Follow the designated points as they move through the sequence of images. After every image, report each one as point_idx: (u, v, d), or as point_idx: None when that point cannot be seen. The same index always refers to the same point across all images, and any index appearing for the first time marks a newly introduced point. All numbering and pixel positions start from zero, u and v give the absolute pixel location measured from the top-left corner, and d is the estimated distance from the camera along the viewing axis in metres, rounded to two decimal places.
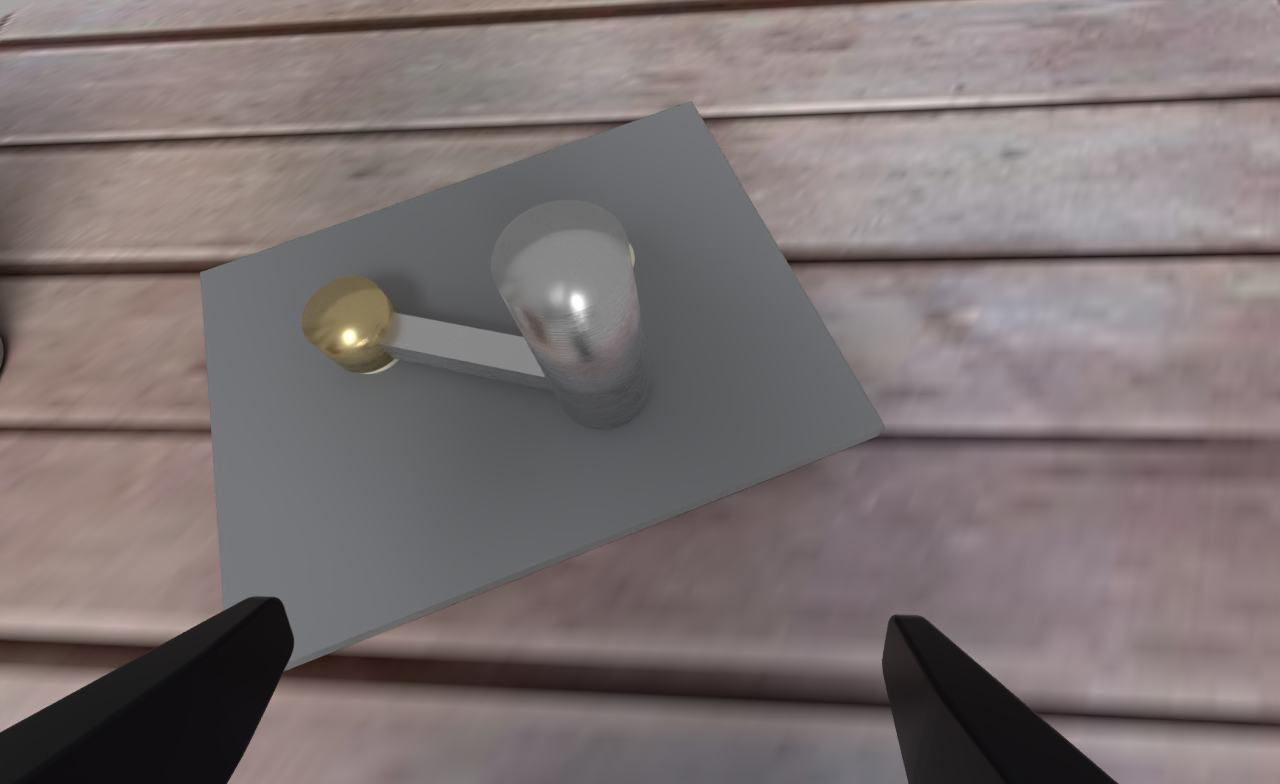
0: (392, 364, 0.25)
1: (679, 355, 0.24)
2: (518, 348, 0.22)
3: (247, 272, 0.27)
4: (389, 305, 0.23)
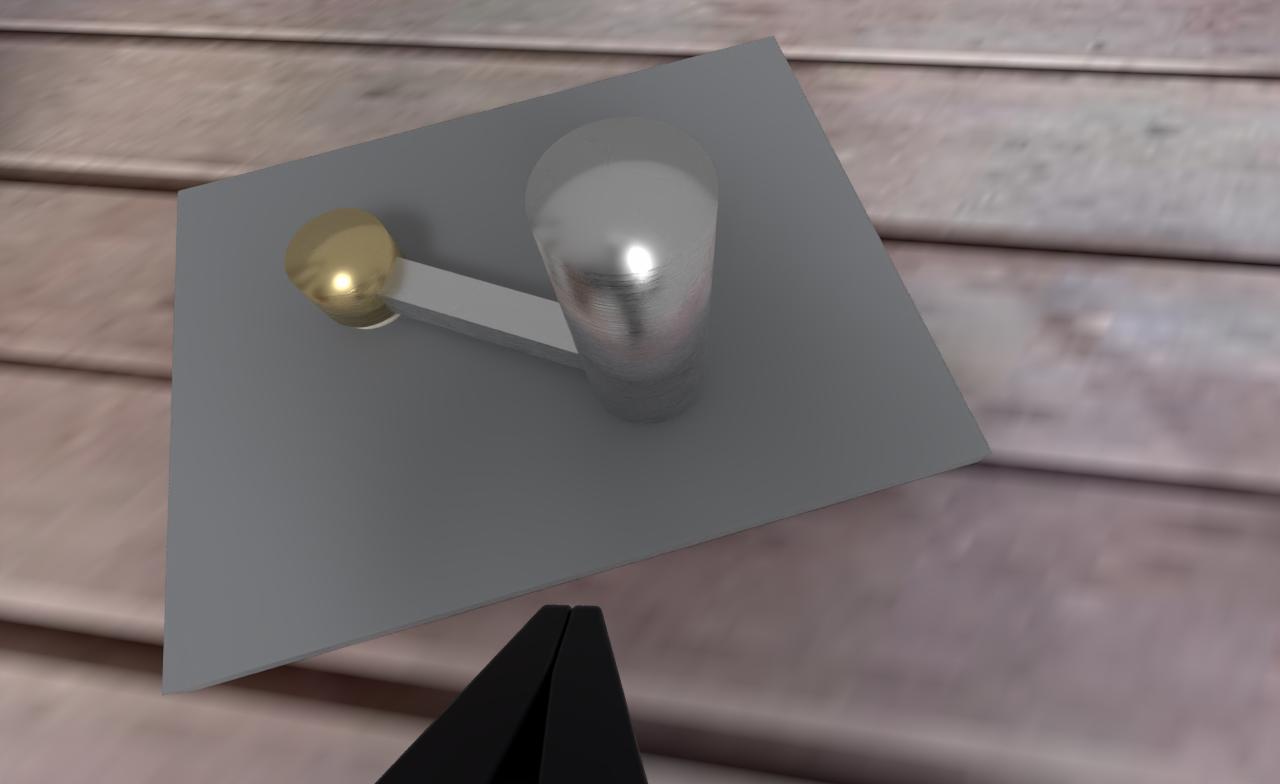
0: (392, 319, 0.20)
1: (740, 340, 0.19)
2: (546, 314, 0.18)
3: (232, 195, 0.23)
4: (393, 247, 0.19)
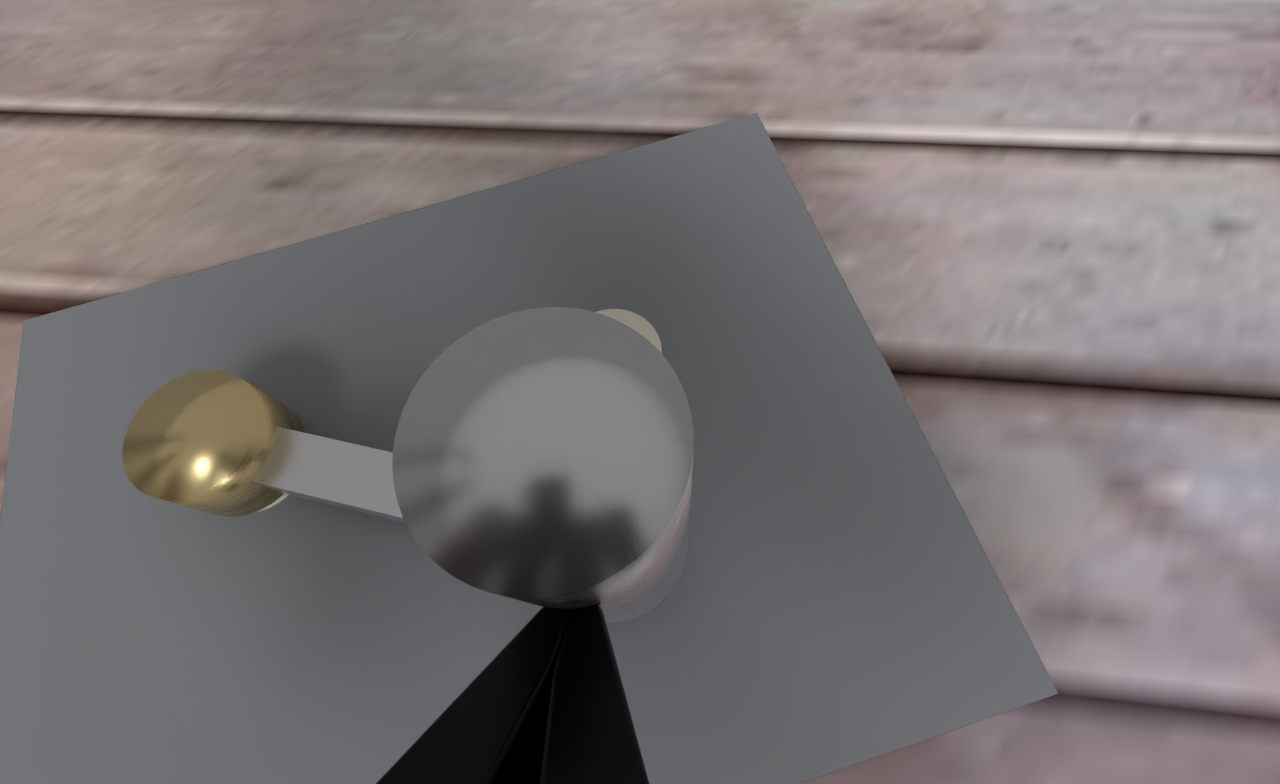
0: (280, 499, 0.16)
1: (723, 527, 0.15)
2: None
3: (90, 326, 0.19)
4: (269, 417, 0.15)
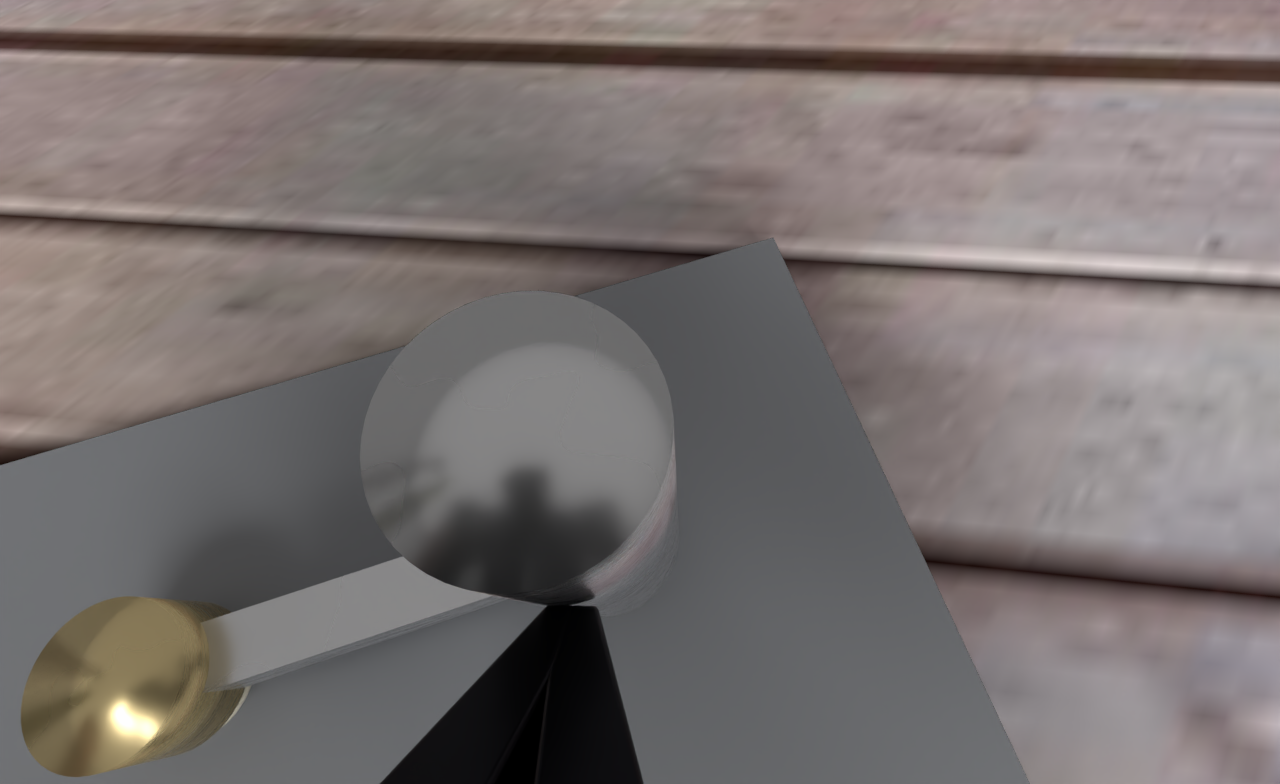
0: None
1: (737, 780, 0.13)
2: None
3: (12, 493, 0.16)
4: (187, 617, 0.13)
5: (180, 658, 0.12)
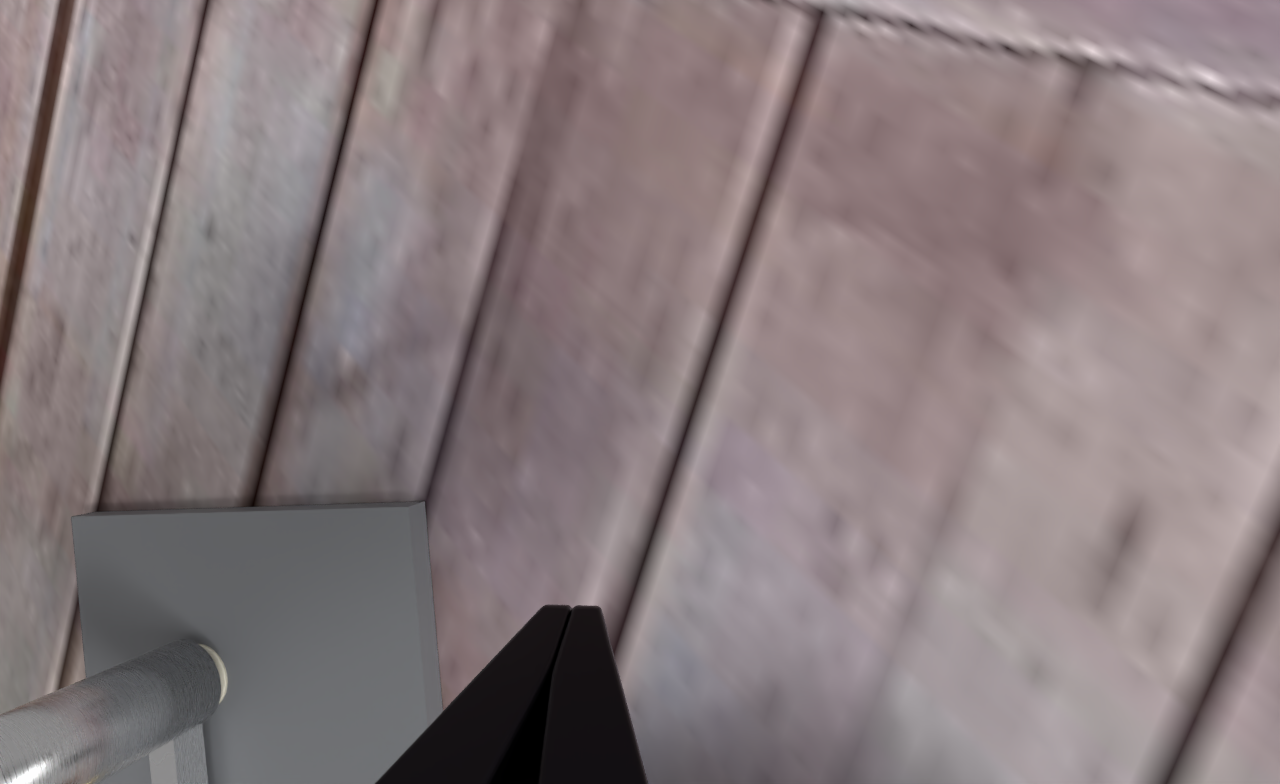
0: None
1: (302, 650, 0.25)
2: (160, 775, 0.24)
3: None
4: None
5: None
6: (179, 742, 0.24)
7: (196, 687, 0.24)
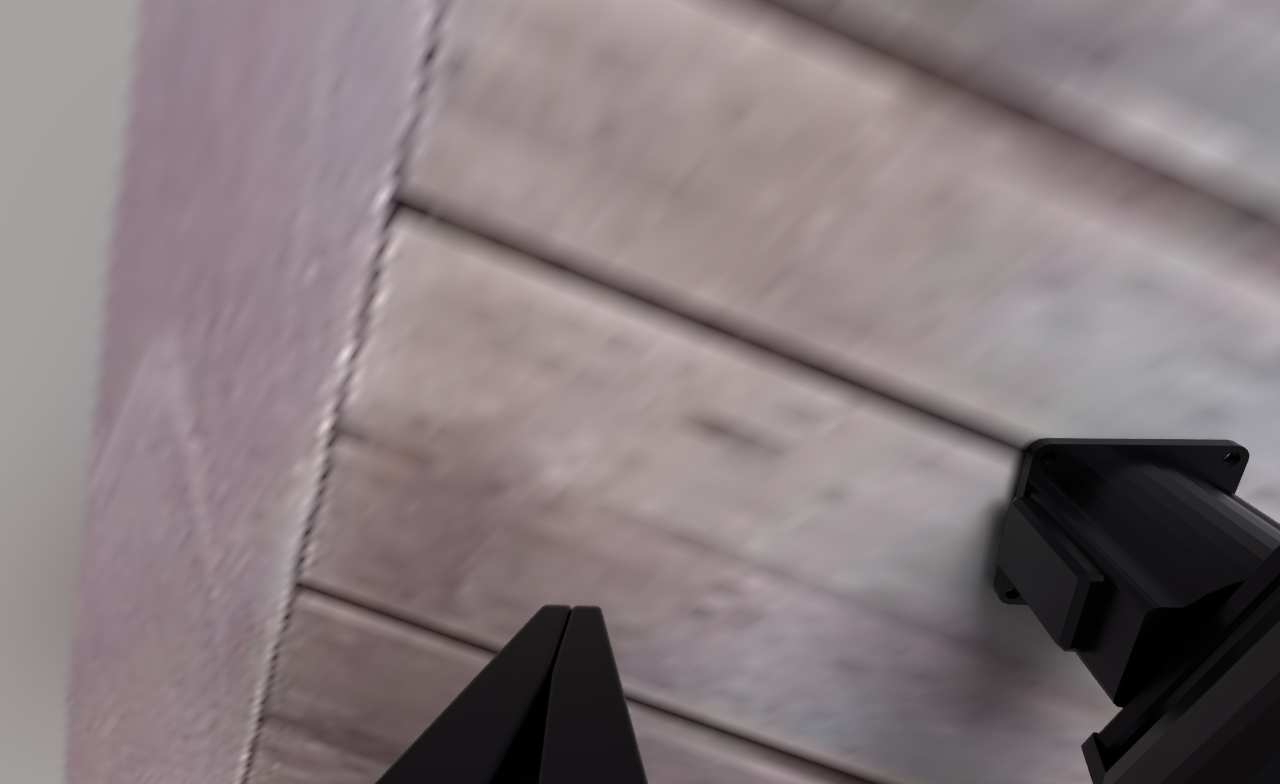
0: None
1: None
2: None
3: None
4: None
5: None
6: None
7: None
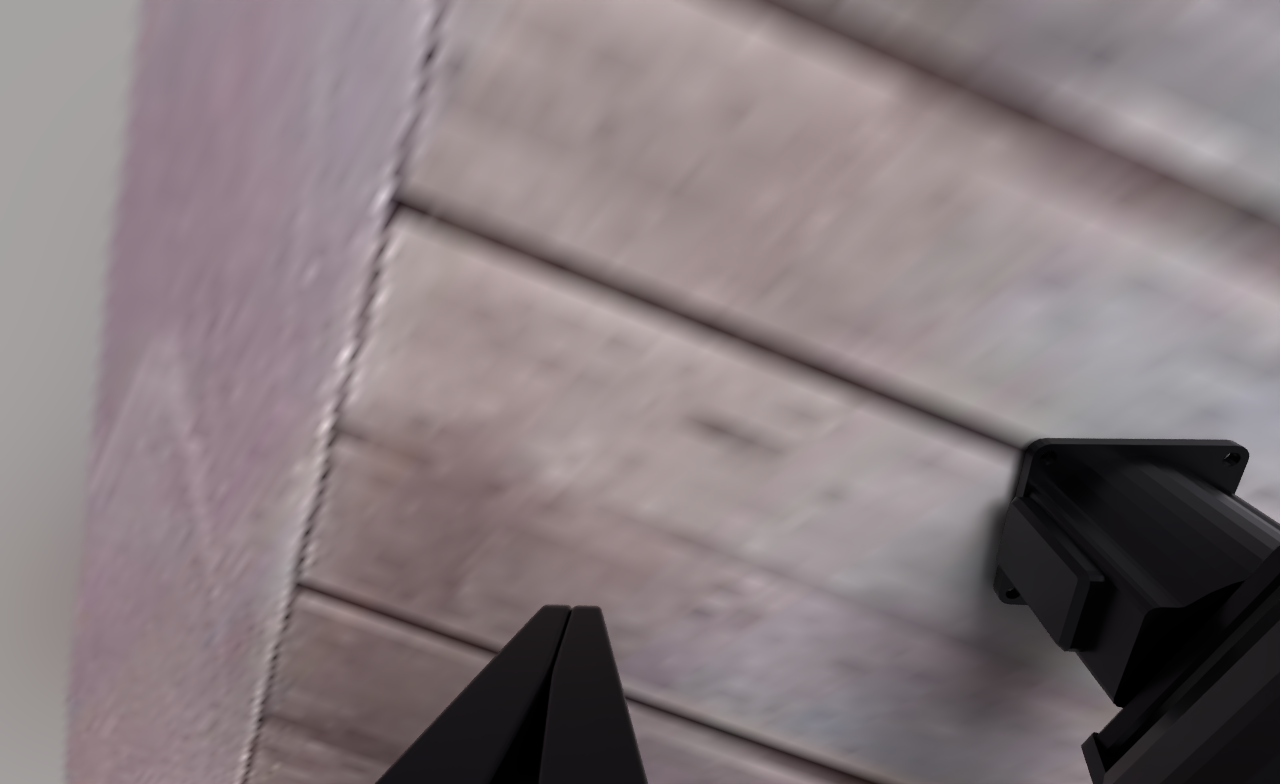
0: None
1: None
2: None
3: None
4: None
5: None
6: None
7: None
